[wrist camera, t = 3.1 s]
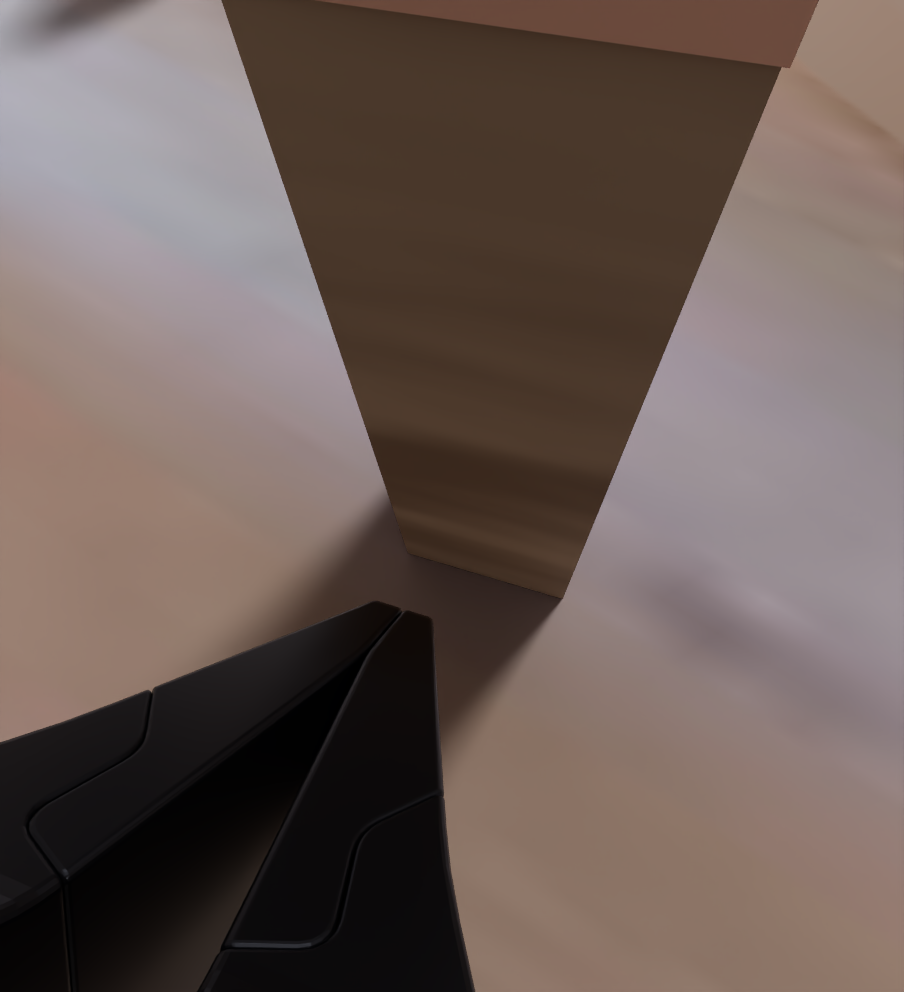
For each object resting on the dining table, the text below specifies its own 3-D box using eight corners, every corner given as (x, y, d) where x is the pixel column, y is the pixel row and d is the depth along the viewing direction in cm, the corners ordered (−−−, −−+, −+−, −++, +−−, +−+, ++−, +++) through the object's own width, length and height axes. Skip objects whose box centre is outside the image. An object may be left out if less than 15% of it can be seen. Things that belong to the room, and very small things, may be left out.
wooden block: (563, 601, 17) (851, -73, 4) (405, 554, 18) (163, -144, 5) (601, 457, 19) (888, -358, 5) (455, 420, 20) (387, -376, 6)
